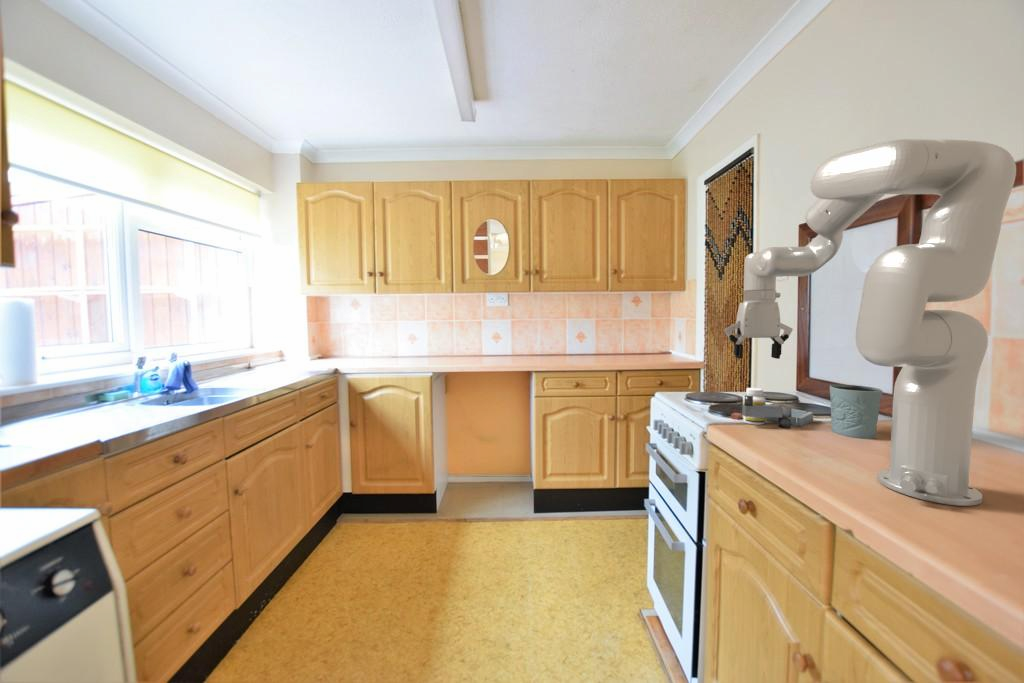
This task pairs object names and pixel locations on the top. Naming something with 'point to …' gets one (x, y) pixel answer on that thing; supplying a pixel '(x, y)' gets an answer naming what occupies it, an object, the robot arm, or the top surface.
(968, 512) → the top surface
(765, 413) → the crank lever
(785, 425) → the crank post
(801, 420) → the tray
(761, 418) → the supplement bottle
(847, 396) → the embossed green planter pot
